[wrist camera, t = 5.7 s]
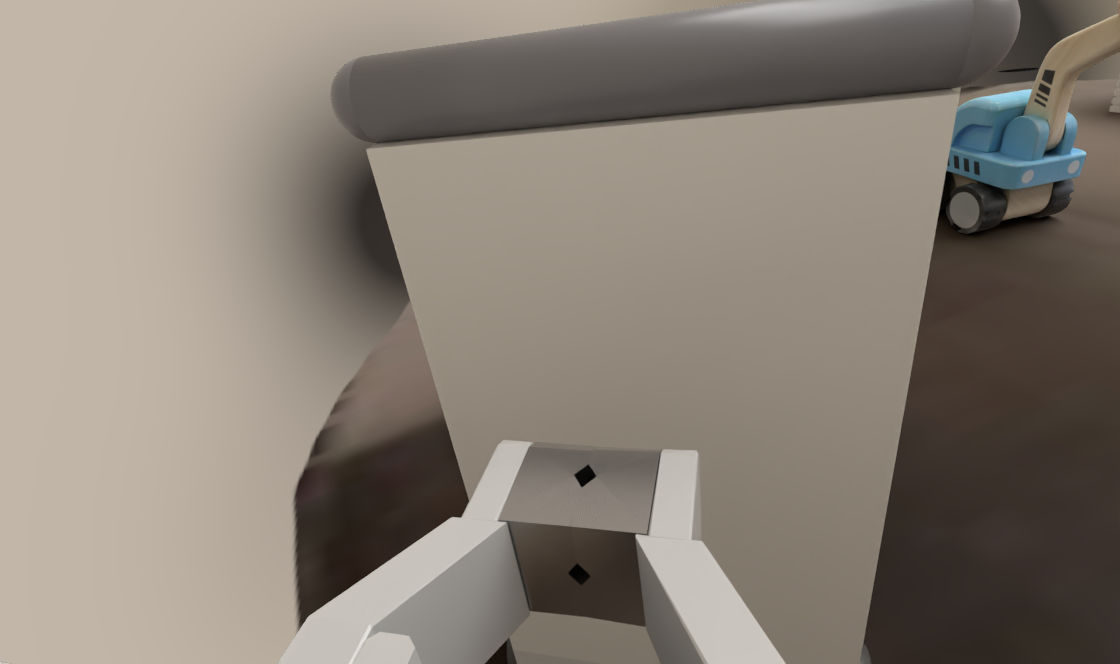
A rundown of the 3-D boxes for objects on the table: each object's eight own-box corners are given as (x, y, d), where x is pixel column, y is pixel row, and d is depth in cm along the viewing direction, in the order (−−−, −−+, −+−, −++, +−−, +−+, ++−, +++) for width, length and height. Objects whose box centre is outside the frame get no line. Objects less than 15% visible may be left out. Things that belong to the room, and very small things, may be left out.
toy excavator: (1049, 271, 44) (1125, 4, 35) (892, 206, 58) (920, 5, 50) (1151, 247, 45) (1249, -19, 36) (972, 189, 59) (1012, -11, 51)
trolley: (875, 784, 18) (1071, -40, 8) (505, 713, 22) (292, 69, 11) (821, 464, 30) (871, -41, 19) (586, 450, 33) (519, 12, 23)
